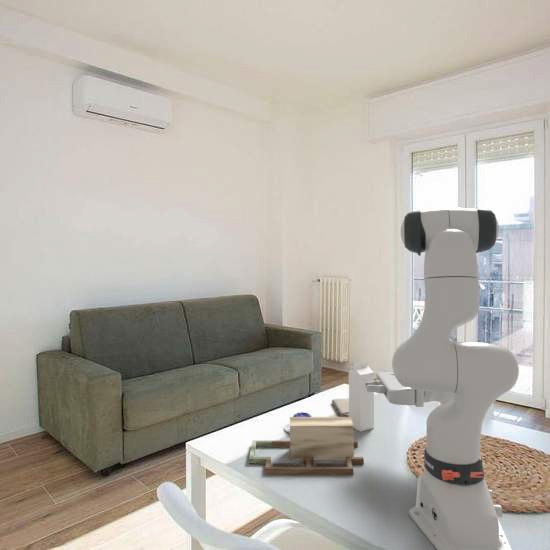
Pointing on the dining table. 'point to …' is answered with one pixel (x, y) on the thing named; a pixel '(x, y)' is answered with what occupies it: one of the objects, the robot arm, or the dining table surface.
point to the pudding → (297, 416)
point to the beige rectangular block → (321, 438)
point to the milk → (361, 397)
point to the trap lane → (296, 467)
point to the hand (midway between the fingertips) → (365, 386)
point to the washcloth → (342, 406)
